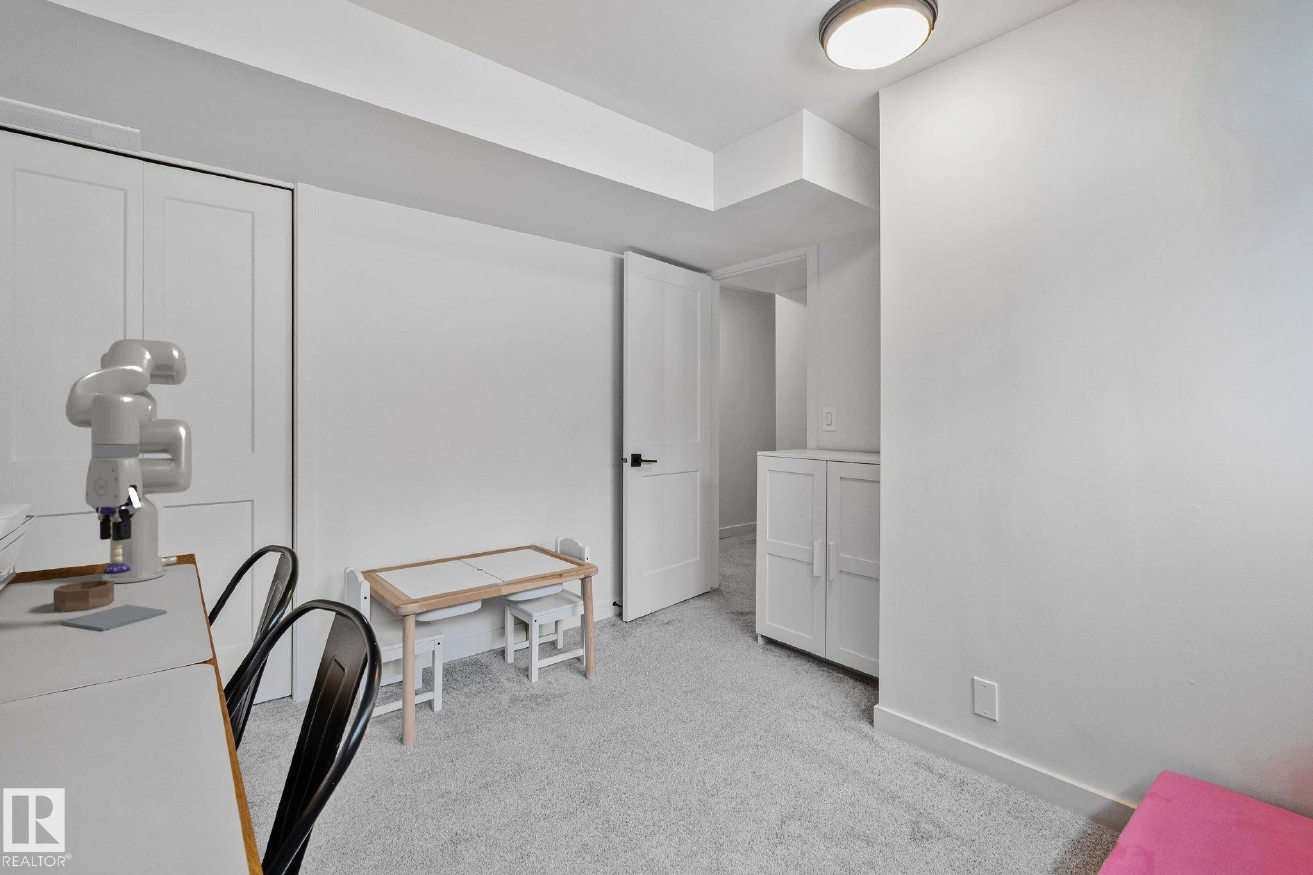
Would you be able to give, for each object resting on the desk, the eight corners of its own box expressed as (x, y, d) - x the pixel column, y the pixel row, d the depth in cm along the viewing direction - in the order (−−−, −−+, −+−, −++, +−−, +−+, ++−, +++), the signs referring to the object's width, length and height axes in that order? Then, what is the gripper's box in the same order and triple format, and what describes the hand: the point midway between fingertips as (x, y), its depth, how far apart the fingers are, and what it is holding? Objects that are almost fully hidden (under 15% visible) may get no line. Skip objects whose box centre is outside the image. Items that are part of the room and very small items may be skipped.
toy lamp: (115, 575, 124) (116, 495, 123) (93, 574, 124) (93, 494, 123) (135, 569, 128) (136, 492, 128) (114, 569, 128) (115, 492, 128)
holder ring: (94, 597, 140) (94, 578, 140) (122, 601, 138) (122, 582, 138) (45, 609, 131) (45, 588, 131) (74, 613, 129) (74, 592, 129)
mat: (126, 607, 134) (126, 604, 134) (166, 612, 131) (166, 610, 131) (61, 624, 122) (61, 621, 122) (103, 631, 119) (103, 628, 119)
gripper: (67, 452, 124) (67, 539, 125) (123, 454, 120) (123, 545, 120) (108, 450, 131) (108, 533, 132) (163, 453, 127) (163, 538, 127)
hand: (115, 538), depth 126 cm, fingers closed on toy lamp, 2 cm apart
